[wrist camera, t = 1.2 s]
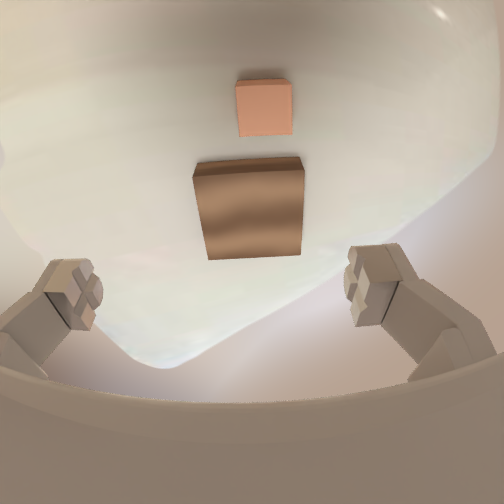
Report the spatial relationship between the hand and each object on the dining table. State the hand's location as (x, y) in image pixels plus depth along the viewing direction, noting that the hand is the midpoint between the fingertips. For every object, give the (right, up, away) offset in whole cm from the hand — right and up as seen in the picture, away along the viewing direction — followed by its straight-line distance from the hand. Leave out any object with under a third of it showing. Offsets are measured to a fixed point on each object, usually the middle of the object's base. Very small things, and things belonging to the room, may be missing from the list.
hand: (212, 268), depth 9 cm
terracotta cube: (+2, +17, +19) cm, 26 cm away
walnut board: (+1, +7, +28) cm, 29 cm away
